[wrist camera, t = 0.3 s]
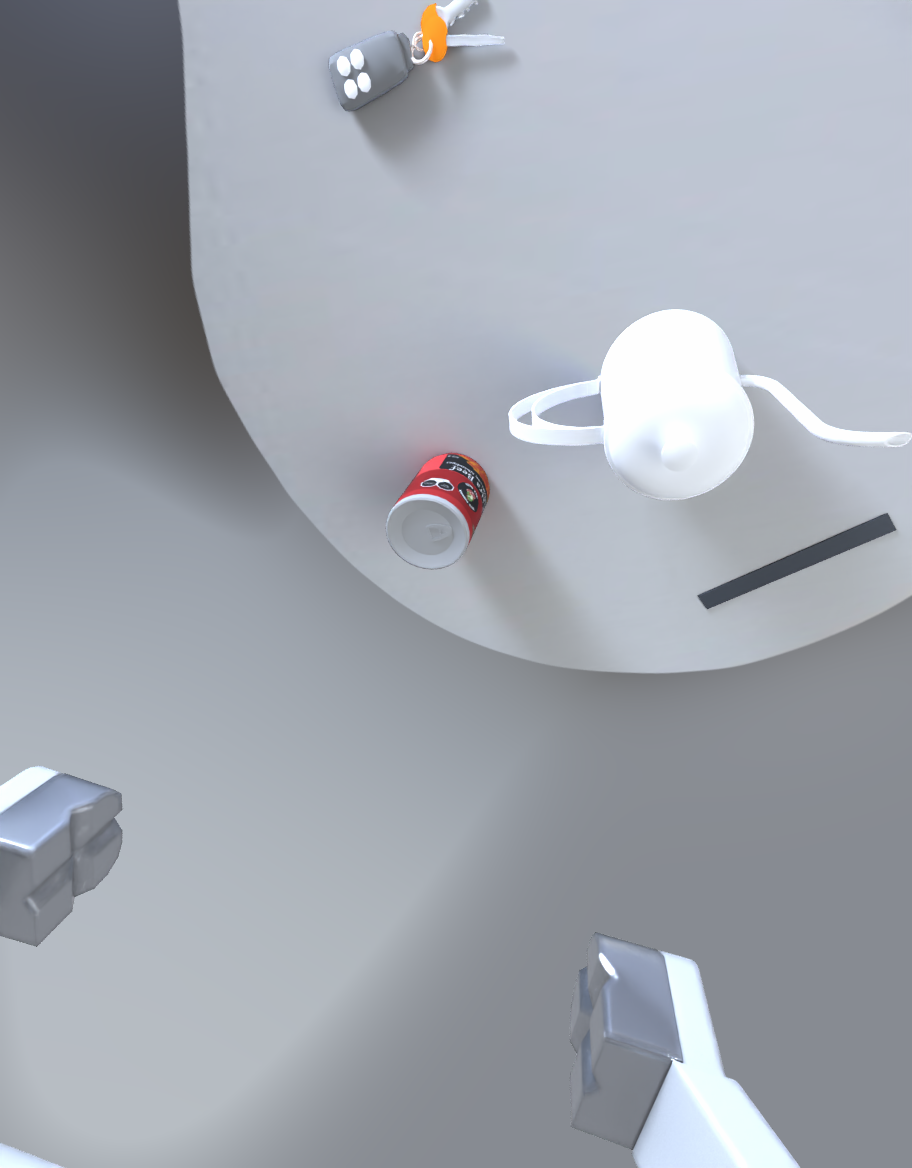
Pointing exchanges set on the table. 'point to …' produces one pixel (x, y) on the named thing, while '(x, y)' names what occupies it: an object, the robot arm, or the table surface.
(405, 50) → the key chain
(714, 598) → the tape line
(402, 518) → the canned food
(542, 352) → the table surface
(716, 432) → the coffeepot
